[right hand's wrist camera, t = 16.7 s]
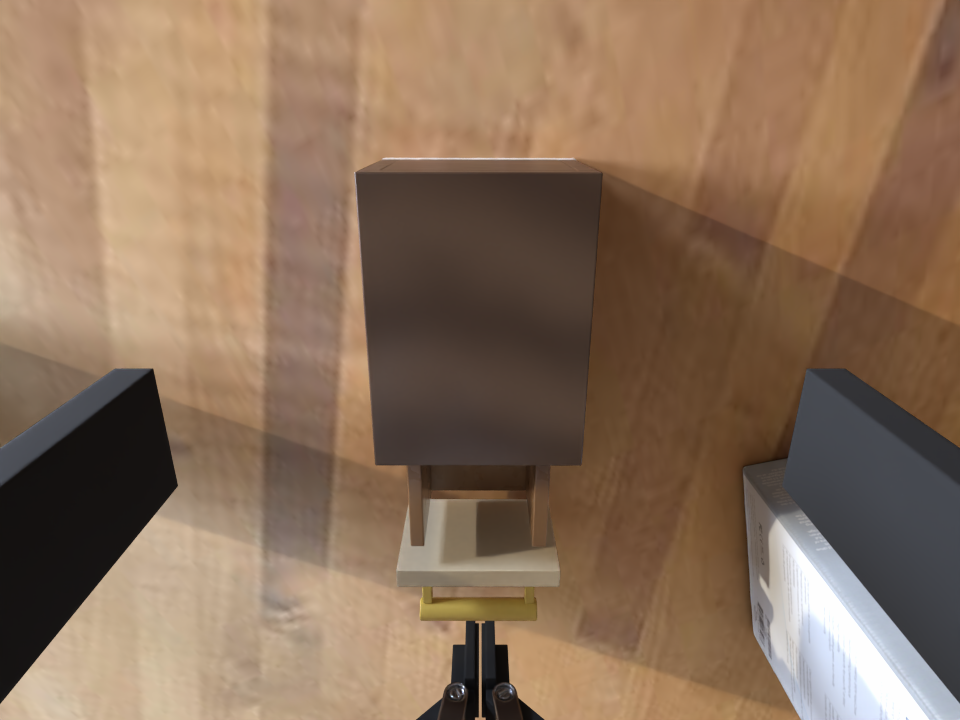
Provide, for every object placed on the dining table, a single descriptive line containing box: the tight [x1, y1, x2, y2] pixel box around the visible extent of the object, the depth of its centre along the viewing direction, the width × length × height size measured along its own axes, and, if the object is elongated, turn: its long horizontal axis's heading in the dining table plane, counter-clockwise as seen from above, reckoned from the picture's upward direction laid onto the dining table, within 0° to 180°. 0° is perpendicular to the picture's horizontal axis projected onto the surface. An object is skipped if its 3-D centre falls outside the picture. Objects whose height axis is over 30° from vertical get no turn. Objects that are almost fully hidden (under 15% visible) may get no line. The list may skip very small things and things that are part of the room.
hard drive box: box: [743, 458, 960, 720], centre depth 35 cm, size 16×8×20 cm, turn 12°
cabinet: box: [355, 158, 603, 465], centre depth 33 cm, size 15×11×9 cm
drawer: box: [396, 465, 560, 621], centre depth 38 cm, size 19×10×7 cm, turn 0°
